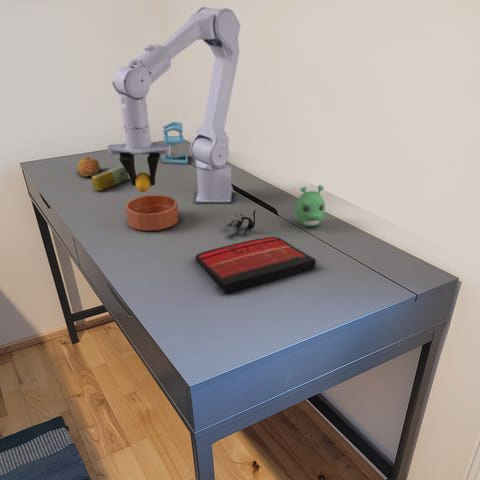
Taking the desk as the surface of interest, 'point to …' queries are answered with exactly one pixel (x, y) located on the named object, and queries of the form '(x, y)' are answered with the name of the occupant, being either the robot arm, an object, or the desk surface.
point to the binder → (253, 263)
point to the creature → (250, 225)
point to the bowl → (152, 212)
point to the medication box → (109, 178)
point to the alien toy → (310, 207)
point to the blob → (143, 182)
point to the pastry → (88, 167)
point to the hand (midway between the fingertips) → (143, 184)
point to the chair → (174, 142)
